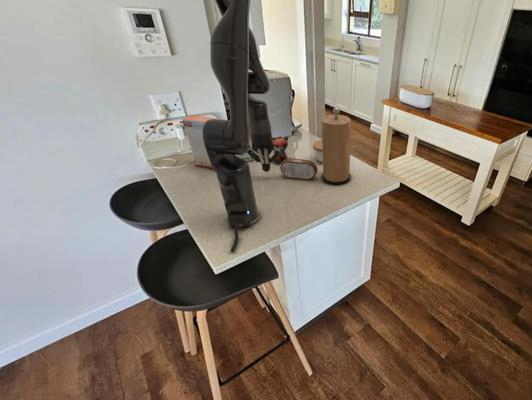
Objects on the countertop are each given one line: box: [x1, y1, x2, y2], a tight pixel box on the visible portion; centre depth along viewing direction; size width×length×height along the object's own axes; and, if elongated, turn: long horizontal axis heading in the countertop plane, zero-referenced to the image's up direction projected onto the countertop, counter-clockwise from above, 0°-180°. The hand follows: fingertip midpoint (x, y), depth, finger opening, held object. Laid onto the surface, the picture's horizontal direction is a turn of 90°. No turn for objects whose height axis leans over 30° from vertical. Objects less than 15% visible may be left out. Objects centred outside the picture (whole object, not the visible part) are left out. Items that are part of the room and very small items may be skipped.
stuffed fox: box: [272, 136, 290, 165], centre depth 126 cm, size 8×11×12 cm
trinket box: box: [312, 139, 323, 164], centre depth 129 cm, size 11×11×9 cm
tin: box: [280, 157, 318, 181], centre depth 114 cm, size 15×3×8 cm, turn 84°
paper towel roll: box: [321, 106, 352, 186], centre depth 110 cm, size 12×12×30 cm
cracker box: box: [181, 114, 218, 169], centre depth 116 cm, size 14×6×21 cm, turn 74°
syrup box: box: [238, 139, 254, 162], centre depth 125 cm, size 6×6×14 cm
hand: (266, 170), depth 113 cm, fingers closed
